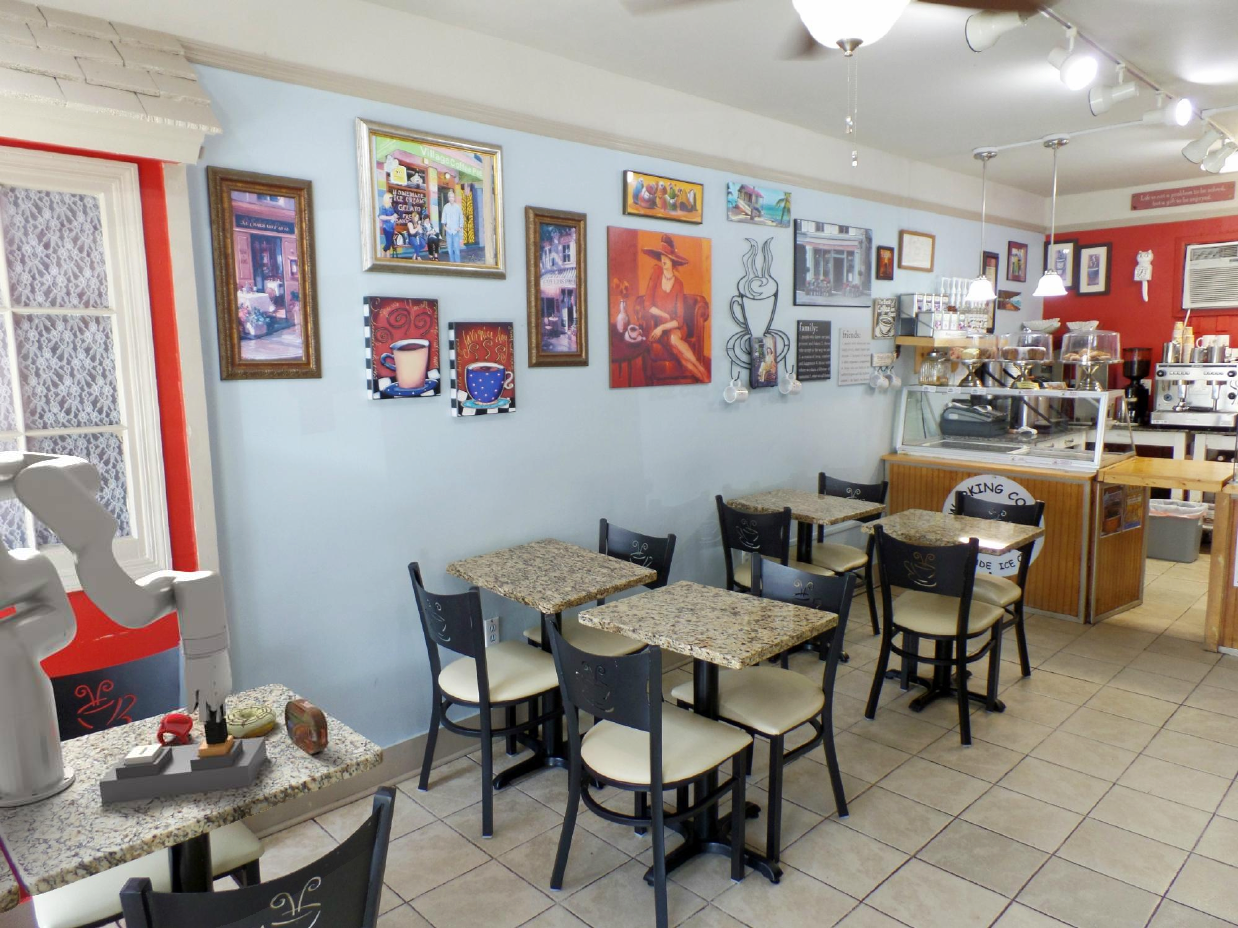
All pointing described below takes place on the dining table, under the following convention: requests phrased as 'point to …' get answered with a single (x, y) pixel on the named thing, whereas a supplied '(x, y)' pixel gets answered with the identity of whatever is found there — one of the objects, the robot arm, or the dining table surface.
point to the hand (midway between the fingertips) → (217, 741)
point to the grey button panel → (184, 772)
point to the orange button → (216, 748)
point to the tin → (306, 725)
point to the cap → (175, 727)
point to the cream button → (143, 754)
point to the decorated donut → (250, 721)
